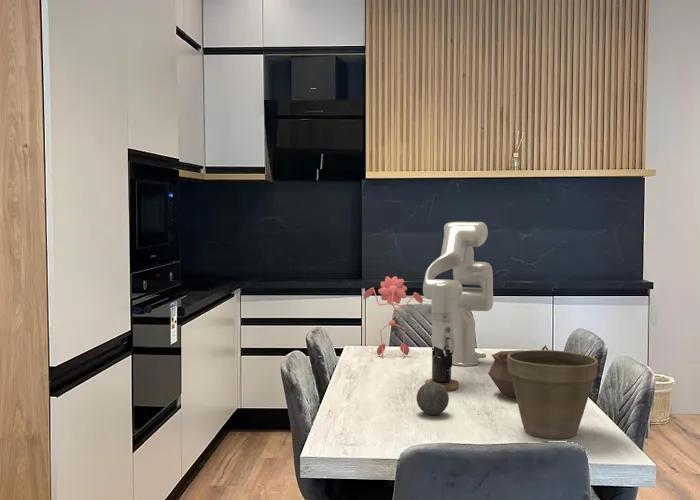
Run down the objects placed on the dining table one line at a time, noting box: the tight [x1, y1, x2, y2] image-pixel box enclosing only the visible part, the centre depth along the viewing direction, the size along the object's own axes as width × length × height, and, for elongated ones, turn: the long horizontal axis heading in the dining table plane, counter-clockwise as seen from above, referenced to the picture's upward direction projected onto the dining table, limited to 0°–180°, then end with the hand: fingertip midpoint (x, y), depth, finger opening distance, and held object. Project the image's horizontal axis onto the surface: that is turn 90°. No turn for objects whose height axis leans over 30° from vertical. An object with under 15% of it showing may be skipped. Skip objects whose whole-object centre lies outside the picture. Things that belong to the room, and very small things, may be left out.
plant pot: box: [507, 349, 599, 440], centre depth 208 cm, size 25×25×22 cm
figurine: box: [363, 275, 424, 359], centre depth 321 cm, size 15×26×35 cm, turn 88°
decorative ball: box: [416, 382, 450, 416], centre depth 227 cm, size 10×10×10 cm
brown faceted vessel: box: [487, 344, 549, 401], centre depth 250 cm, size 24×24×16 cm
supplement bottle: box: [431, 348, 452, 383], centre depth 262 cm, size 7×7×12 cm
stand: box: [424, 378, 460, 393], centre depth 262 cm, size 12×12×2 cm
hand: (442, 364), depth 262 cm, fingers open, 9 cm apart
